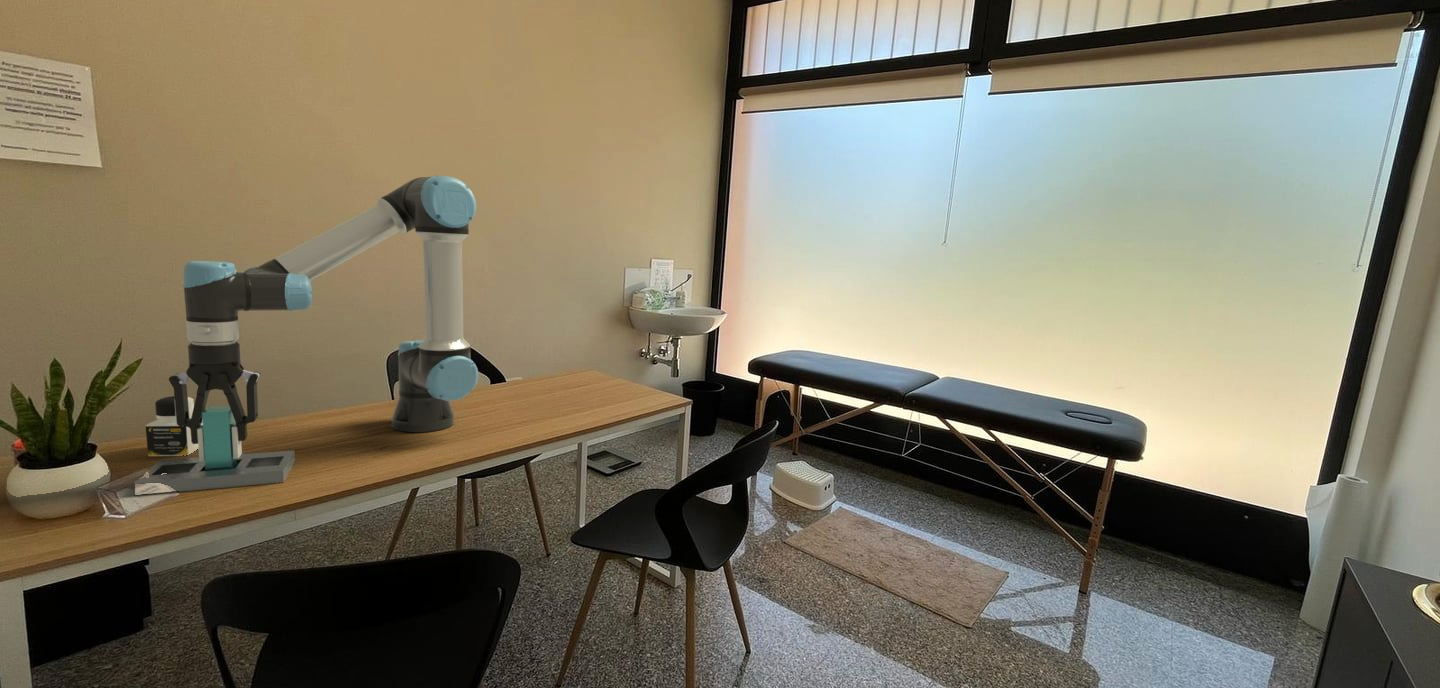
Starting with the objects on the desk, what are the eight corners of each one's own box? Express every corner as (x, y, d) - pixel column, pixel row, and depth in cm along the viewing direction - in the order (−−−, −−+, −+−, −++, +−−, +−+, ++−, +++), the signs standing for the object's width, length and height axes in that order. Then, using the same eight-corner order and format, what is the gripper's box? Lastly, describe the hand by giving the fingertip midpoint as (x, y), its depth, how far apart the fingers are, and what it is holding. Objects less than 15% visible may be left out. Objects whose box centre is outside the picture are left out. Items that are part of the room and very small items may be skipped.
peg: (237, 472, 118) (234, 406, 116) (232, 479, 115) (228, 411, 113) (212, 474, 116) (208, 406, 114) (205, 481, 113) (202, 412, 111)
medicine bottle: (147, 457, 122) (142, 402, 121) (168, 445, 129) (164, 393, 127) (188, 456, 124) (184, 402, 123) (207, 445, 131) (203, 393, 129)
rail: (295, 461, 126) (294, 450, 126) (283, 482, 115) (283, 470, 115) (160, 471, 116) (159, 460, 115) (134, 495, 105) (133, 483, 105)
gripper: (144, 345, 104) (154, 468, 108) (266, 345, 112) (271, 459, 116) (161, 338, 111) (169, 455, 114) (274, 338, 119) (279, 447, 122)
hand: (221, 457), depth 115 cm, fingers open, 4 cm apart
